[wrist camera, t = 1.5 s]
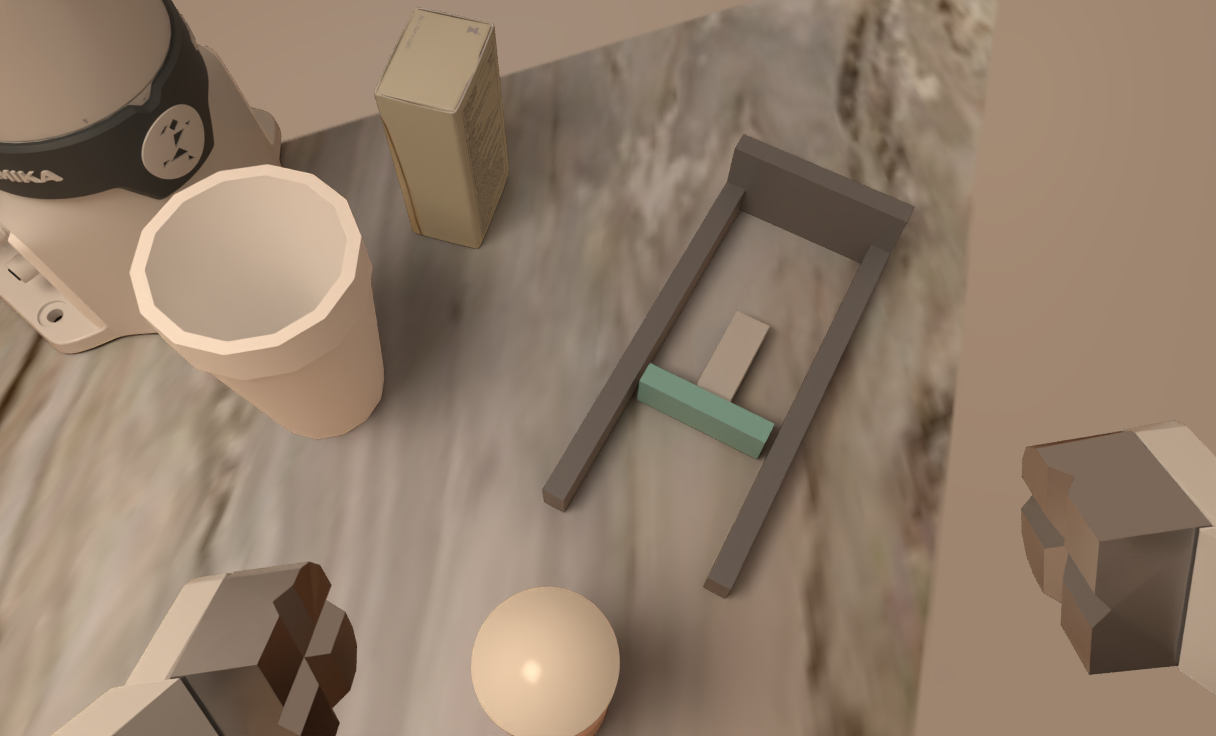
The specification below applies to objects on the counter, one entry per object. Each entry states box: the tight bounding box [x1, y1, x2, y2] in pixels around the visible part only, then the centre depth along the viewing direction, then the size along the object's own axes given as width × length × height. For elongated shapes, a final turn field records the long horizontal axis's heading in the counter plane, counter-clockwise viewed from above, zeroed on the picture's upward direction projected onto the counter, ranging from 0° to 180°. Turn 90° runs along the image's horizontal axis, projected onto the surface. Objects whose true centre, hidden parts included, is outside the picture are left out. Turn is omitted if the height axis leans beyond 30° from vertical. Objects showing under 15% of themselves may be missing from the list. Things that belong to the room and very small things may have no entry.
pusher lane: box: [542, 134, 914, 599], centre depth 48 cm, size 23×10×5 cm, turn 152°
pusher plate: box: [637, 311, 774, 459], centre depth 49 cm, size 7×7×2 cm
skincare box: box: [374, 7, 509, 248], centre depth 49 cm, size 6×4×12 cm
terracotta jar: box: [471, 587, 620, 736], centre depth 37 cm, size 5×5×11 cm
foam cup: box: [129, 164, 385, 439], centre depth 43 cm, size 10×9×13 cm
